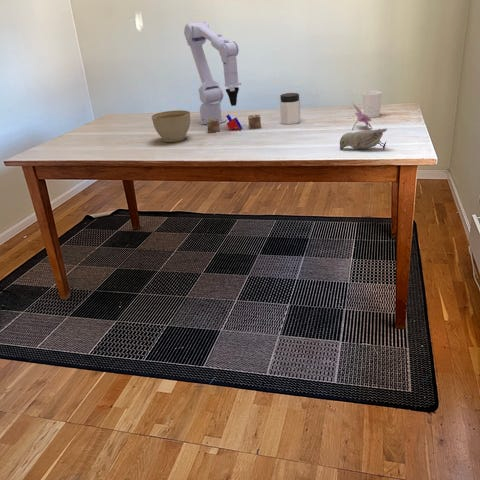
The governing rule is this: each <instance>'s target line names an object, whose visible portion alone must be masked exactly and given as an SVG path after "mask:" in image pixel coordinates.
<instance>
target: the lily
mask: <svg viewBox="0 0 480 480" xmlns="http://www.w3.org/2000/svg"><path fill="white" fill-rule="evenodd" d="M351 104H352V105H353V107H354V108H355V110H356V112H355V113H354V114H355V115H356V116H357V117H356V118H357V119H356V121H355V123H354V124H353V126H352V129H351V130H352V131H353V130H354V128H355V126H356V124H357V123H358V122H360V123H361V122H362V123H364V124H365V125H366V126H369V127H370V128H371V129H373V126H371V124H370V122H372V118H369V117H368V116H367V115H366V114H364V112H362V110H361V109H360V108H359V107H357V106H356V104H354V103H353V102H352V103H351Z"/></svg>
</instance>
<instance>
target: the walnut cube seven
mask: <svg viewBox="0 0 480 480" xmlns="http://www.w3.org/2000/svg"><path fill="white" fill-rule="evenodd" d="M206 125H207V134H216V132H218V133H220V132H221V126H220V124H219V119H209V120H207V124H206Z"/></svg>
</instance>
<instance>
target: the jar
mask: <svg viewBox="0 0 480 480" xmlns="http://www.w3.org/2000/svg"><path fill="white" fill-rule="evenodd" d="M279 98H280V101H279V109H280V110H279V111H280V123H281V124H284V125H295V124H299V123H300V122H301V100H300V94H299V93H298V92H287V93H282V94H280V97H279Z"/></svg>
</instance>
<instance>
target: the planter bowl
mask: <svg viewBox="0 0 480 480" xmlns="http://www.w3.org/2000/svg"><path fill="white" fill-rule="evenodd" d="M150 117H151V120H152V123H153V128H154V129H155V132H156V133H157V134H158V136H160V137H161V140H162V142H166V143H177V142H180V141H184V140H185V139H186V135H187V133H188V131H189V129H190V125H191V112H190V111H188V110H184V109H181V110H180V109H178V110H177V109H176V110H167V111H160V112H157V113H154V114H153V115H151V116H150Z"/></svg>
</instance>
